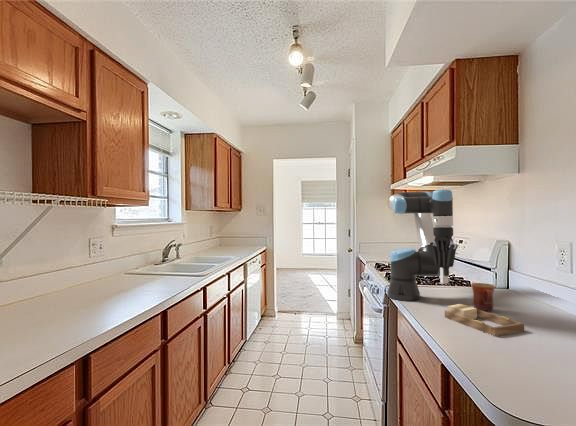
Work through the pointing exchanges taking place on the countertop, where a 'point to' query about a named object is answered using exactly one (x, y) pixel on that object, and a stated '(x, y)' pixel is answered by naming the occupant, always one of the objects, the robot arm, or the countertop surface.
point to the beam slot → (508, 324)
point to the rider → (463, 310)
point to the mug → (483, 296)
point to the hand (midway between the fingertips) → (444, 283)
